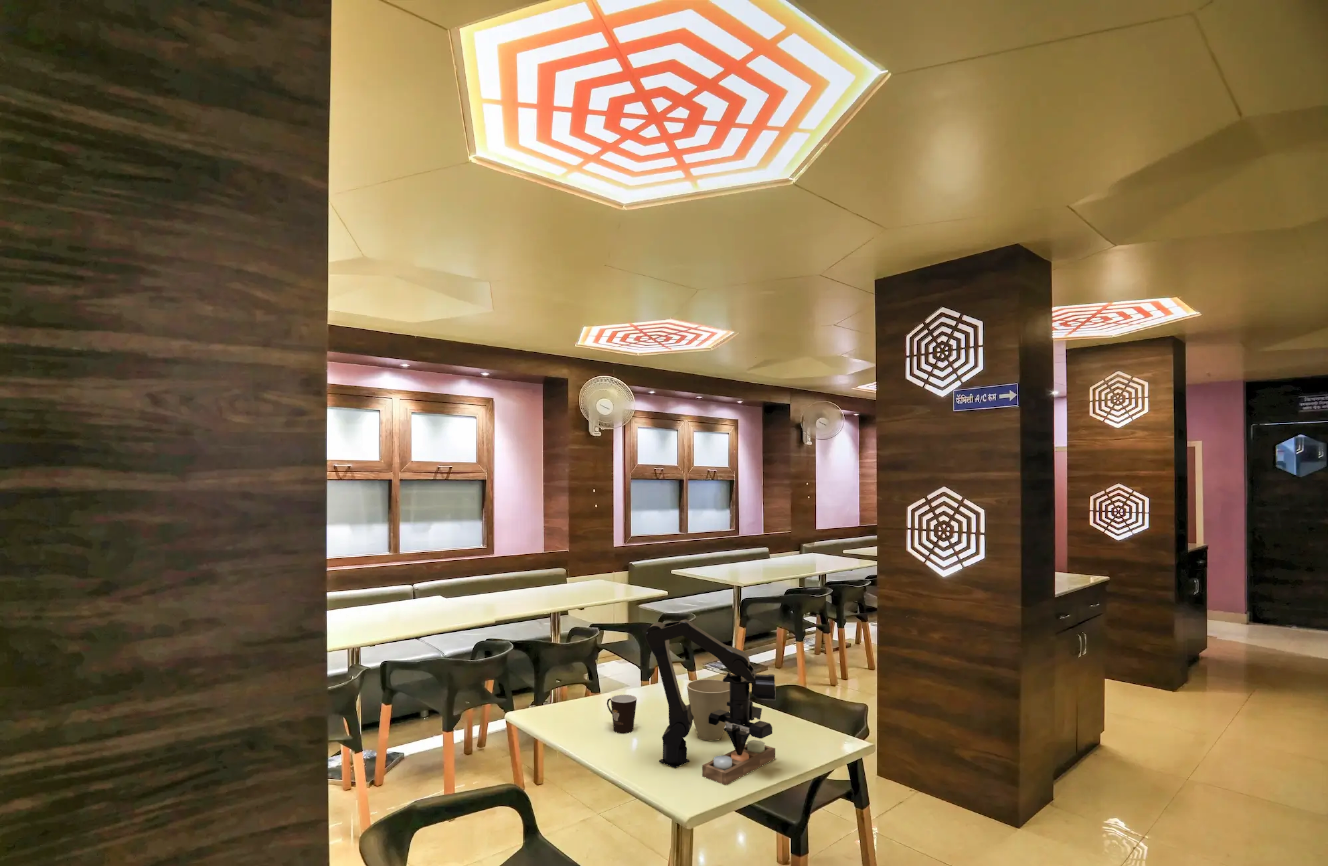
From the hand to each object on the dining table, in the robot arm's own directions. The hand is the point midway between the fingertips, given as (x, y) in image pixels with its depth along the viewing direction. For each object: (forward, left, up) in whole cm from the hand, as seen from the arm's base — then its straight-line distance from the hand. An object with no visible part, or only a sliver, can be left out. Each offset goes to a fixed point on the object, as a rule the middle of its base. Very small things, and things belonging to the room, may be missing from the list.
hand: (739, 754), depth 185 cm
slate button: (0, -8, -2) cm, 8 cm away
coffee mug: (-47, -1, -4) cm, 47 cm away
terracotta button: (0, 0, -3) cm, 3 cm away
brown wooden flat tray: (0, 0, -3) cm, 3 cm away
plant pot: (-21, +13, -4) cm, 25 cm away
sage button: (0, +8, -2) cm, 8 cm away
